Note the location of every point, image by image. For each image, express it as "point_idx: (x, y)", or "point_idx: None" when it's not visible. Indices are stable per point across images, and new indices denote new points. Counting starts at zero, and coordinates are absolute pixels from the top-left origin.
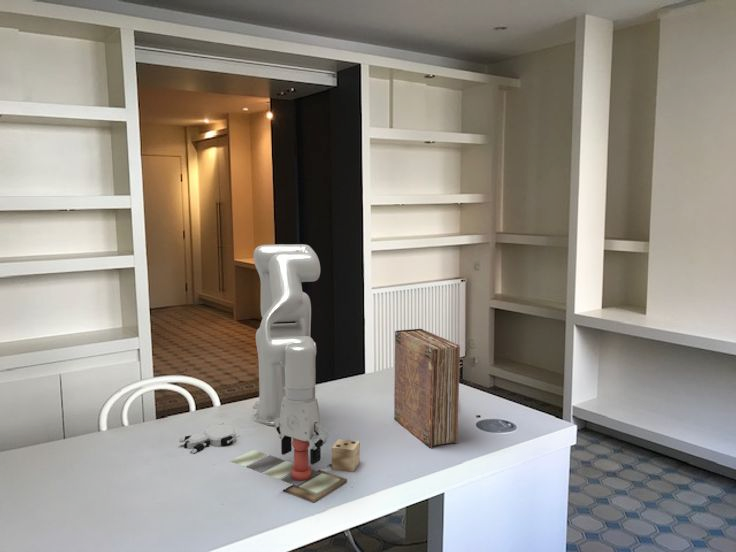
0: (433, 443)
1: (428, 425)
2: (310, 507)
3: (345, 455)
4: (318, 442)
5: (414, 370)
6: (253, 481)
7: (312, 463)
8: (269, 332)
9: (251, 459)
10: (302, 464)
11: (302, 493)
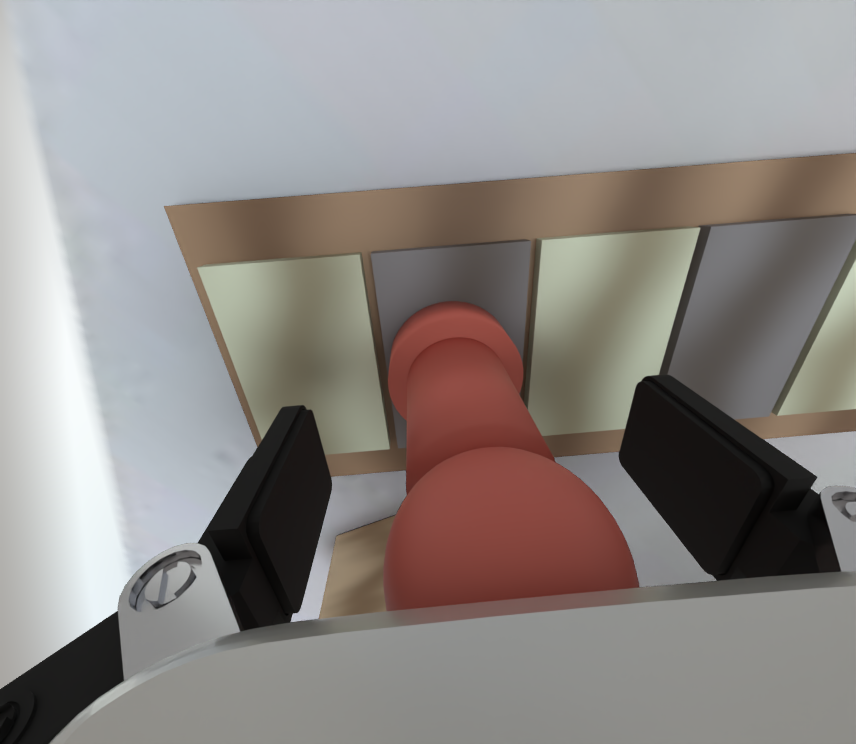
0: None
1: None
2: (133, 140)
3: (357, 597)
4: (44, 714)
5: None
6: (710, 146)
7: (282, 413)
8: None
9: None
10: (416, 386)
11: (290, 219)
